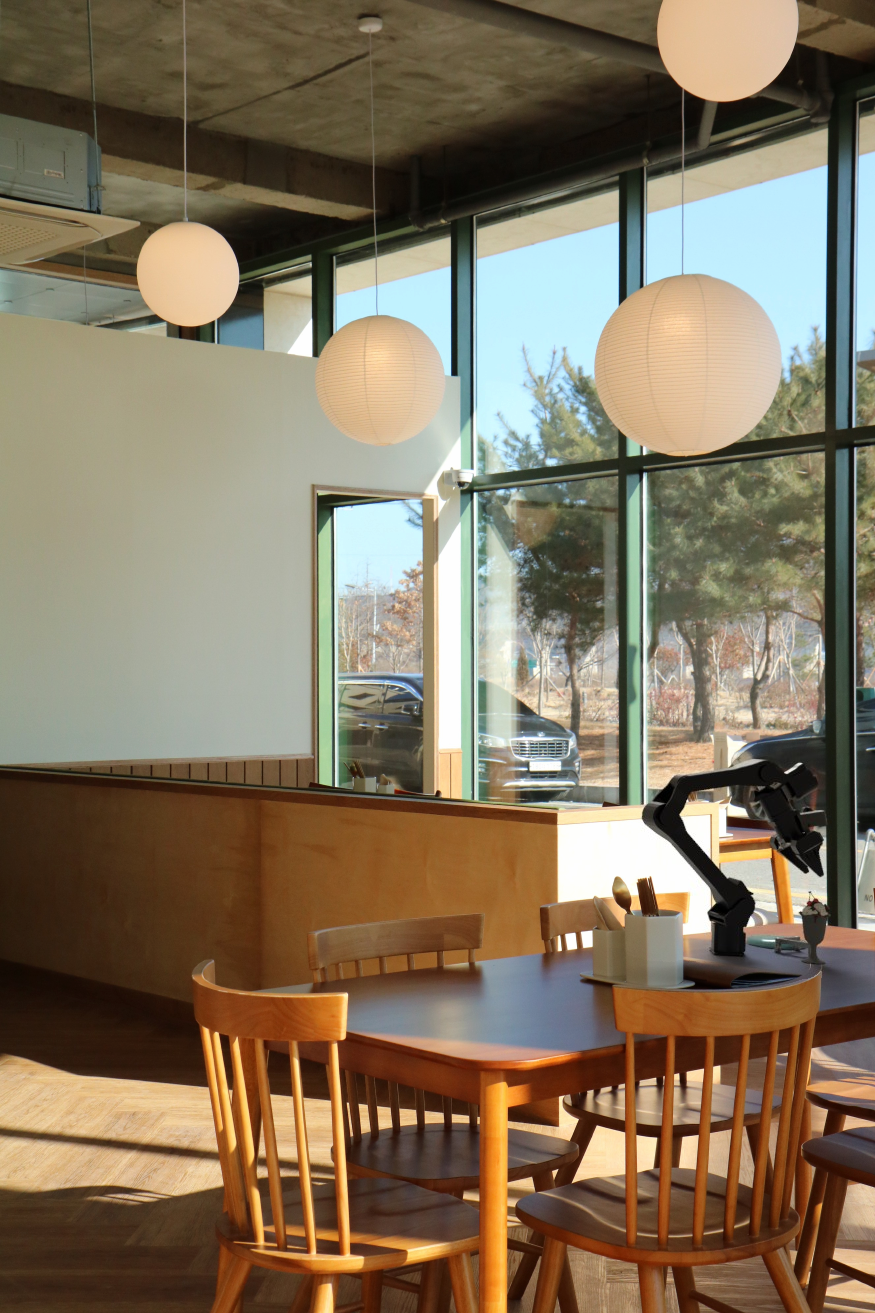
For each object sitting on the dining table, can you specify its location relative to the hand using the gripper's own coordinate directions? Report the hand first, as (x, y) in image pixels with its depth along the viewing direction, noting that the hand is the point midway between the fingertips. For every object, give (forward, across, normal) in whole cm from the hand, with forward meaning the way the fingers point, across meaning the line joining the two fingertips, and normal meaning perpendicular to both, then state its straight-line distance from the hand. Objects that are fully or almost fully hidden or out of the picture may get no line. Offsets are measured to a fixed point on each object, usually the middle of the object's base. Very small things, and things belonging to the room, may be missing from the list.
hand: (814, 874), depth 289 cm
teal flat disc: (+12, +13, +12) cm, 22 cm away
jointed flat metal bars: (+13, +2, +12) cm, 18 cm away
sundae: (+14, -8, +12) cm, 20 cm away
